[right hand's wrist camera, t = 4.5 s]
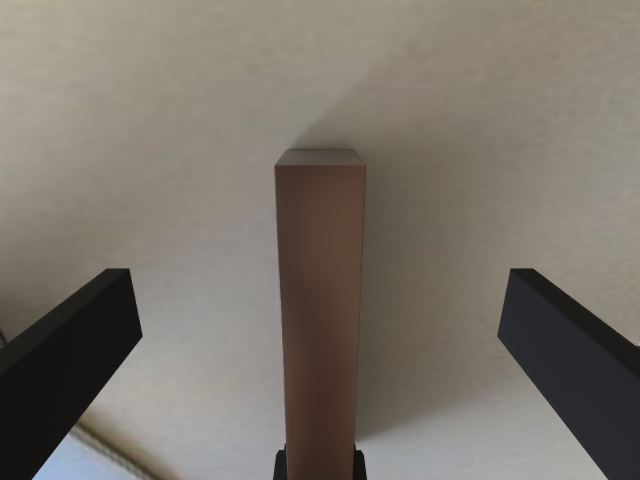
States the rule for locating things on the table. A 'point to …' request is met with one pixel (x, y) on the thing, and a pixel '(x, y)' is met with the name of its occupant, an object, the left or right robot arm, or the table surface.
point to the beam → (320, 305)
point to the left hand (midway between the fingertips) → (319, 450)
